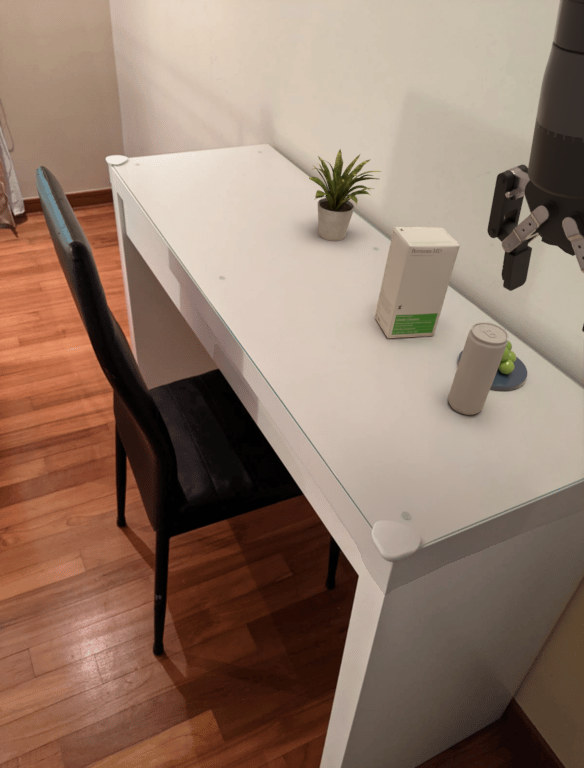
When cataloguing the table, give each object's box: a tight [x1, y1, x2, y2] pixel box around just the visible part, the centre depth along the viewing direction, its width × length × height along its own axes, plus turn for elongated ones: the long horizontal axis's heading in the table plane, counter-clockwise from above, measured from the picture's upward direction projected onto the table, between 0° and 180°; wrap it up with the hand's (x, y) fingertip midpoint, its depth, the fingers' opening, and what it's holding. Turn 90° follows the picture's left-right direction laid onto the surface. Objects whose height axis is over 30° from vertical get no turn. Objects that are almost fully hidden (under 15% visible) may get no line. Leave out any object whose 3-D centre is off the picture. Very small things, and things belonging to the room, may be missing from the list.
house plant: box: [308, 148, 383, 242], centre depth 114 cm, size 14×14×16 cm
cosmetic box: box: [374, 225, 461, 339], centre depth 92 cm, size 8×7×16 cm
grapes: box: [456, 340, 528, 392], centre depth 88 cm, size 10×10×6 cm
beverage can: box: [447, 321, 509, 416], centre depth 79 cm, size 5×5×12 cm
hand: (551, 307), depth 53 cm, fingers open, 8 cm apart
